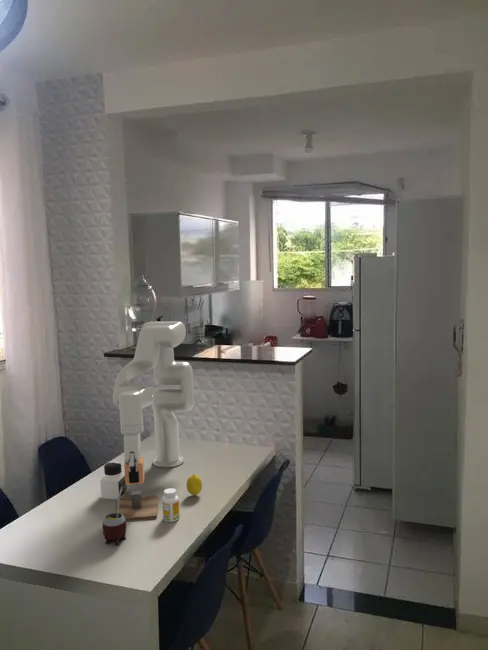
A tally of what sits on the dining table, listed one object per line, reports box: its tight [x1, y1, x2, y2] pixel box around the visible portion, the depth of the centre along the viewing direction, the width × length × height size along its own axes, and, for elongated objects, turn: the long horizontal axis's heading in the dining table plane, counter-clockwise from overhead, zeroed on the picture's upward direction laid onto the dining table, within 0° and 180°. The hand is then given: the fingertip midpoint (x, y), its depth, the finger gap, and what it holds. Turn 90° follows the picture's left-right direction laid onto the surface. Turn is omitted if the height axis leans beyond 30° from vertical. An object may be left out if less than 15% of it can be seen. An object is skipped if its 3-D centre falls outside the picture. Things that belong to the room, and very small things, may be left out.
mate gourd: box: [102, 487, 127, 547], centre depth 172 cm, size 8×8×15 cm
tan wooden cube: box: [123, 456, 146, 486], centre depth 192 cm, size 6×6×7 cm
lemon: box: [186, 474, 203, 497], centre depth 202 cm, size 6×6×8 cm
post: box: [130, 490, 142, 509], centre depth 193 cm, size 3×3×5 cm
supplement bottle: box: [161, 487, 180, 523], centre depth 186 cm, size 5×5×10 cm
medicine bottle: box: [99, 461, 128, 500], centre depth 205 cm, size 7×7×12 cm
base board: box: [114, 494, 159, 522], centre depth 194 cm, size 16×14×1 cm
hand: (135, 478), depth 192 cm, fingers closed on tan wooden cube, 5 cm apart
